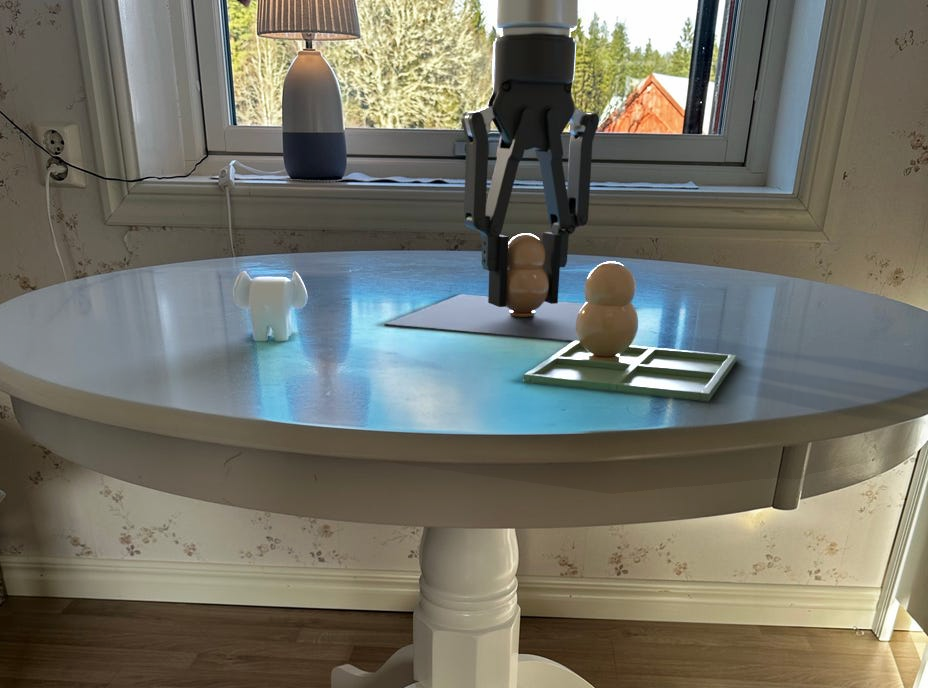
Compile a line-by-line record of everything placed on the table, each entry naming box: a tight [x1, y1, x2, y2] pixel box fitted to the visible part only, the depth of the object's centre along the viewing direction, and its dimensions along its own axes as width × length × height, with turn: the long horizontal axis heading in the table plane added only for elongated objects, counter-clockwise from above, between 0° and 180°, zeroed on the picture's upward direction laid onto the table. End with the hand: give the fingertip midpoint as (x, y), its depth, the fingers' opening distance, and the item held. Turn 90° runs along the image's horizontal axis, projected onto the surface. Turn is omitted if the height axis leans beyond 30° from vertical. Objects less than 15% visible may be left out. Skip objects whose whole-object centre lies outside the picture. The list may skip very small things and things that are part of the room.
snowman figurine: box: [576, 261, 639, 361], centre depth 79 cm, size 5×5×8 cm
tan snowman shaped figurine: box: [506, 233, 549, 317], centre depth 96 cm, size 5×5×8 cm
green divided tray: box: [522, 341, 738, 402], centre depth 77 cm, size 14×14×1 cm
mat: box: [383, 293, 585, 343], centre depth 99 cm, size 20×20×1 cm
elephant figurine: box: [232, 270, 309, 342], centre depth 88 cm, size 7×8×6 cm
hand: (522, 302), depth 98 cm, fingers closed on tan snowman shaped figurine, 5 cm apart
